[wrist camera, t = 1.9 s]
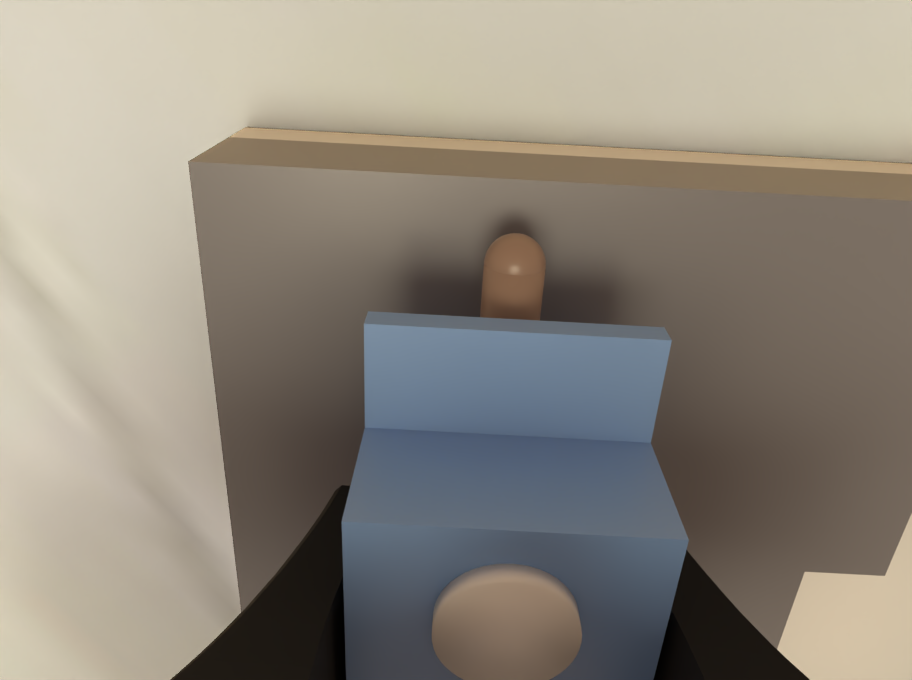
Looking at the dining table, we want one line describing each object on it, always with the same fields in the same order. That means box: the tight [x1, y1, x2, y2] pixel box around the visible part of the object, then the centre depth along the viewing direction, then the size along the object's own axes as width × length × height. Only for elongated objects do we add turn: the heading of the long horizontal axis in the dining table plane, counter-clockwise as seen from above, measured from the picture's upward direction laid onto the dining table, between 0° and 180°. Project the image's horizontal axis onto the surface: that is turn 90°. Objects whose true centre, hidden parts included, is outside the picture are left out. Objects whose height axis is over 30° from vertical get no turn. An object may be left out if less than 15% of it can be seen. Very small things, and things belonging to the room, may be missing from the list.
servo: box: [342, 233, 689, 680], centre depth 11 cm, size 4×10×5 cm, turn 177°
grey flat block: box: [188, 127, 912, 680], centre depth 16 cm, size 22×16×3 cm
